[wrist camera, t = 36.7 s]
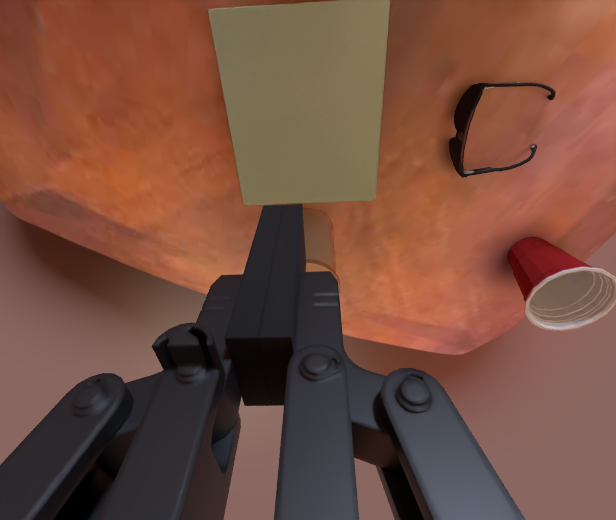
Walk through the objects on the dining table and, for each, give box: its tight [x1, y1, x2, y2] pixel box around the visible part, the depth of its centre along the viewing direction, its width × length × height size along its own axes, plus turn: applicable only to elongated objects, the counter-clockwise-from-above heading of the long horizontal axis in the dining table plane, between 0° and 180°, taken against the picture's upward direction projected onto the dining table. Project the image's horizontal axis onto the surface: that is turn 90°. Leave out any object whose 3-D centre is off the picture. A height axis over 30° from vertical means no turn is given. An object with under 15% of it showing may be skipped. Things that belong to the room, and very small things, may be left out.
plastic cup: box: [508, 237, 616, 331], centre depth 47 cm, size 11×11×12 cm
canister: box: [303, 209, 340, 292], centre depth 44 cm, size 8×8×16 cm
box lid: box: [208, 0, 390, 206], centre depth 35 cm, size 16×20×1 cm
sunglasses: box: [449, 82, 556, 178], centre depth 39 cm, size 10×12×5 cm
